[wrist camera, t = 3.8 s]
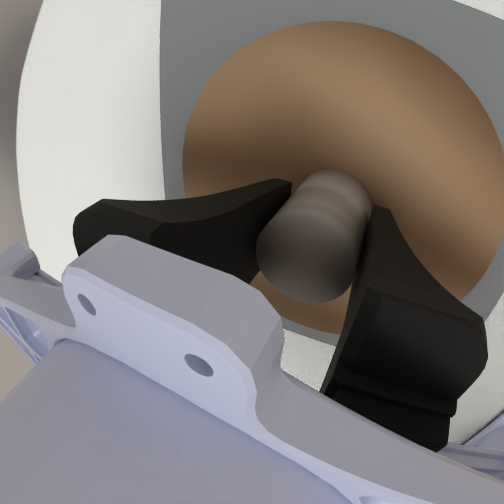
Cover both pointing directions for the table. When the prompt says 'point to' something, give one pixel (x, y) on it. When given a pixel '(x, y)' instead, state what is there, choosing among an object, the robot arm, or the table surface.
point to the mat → (318, 10)
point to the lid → (349, 160)
